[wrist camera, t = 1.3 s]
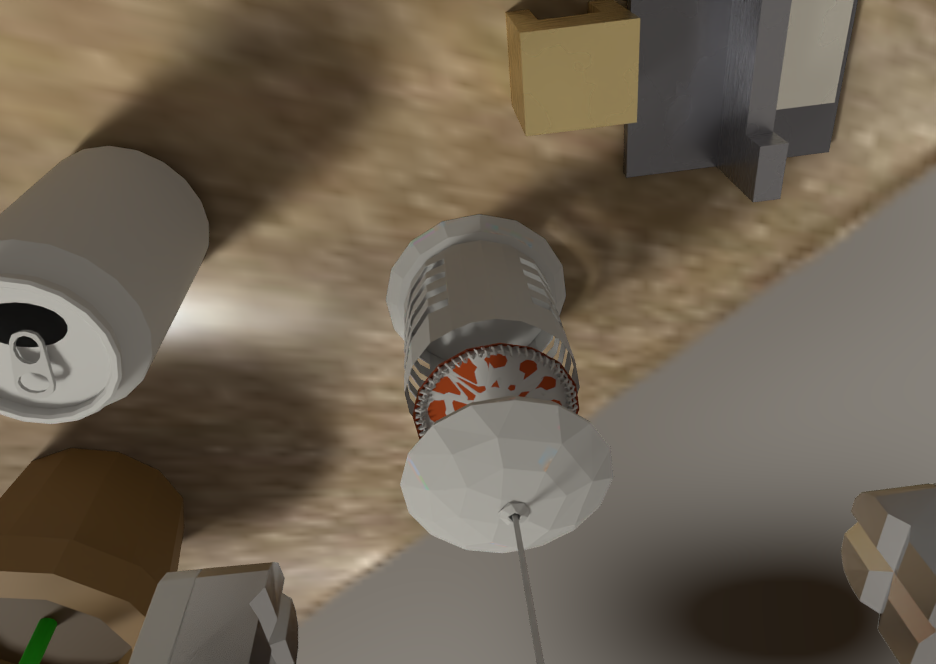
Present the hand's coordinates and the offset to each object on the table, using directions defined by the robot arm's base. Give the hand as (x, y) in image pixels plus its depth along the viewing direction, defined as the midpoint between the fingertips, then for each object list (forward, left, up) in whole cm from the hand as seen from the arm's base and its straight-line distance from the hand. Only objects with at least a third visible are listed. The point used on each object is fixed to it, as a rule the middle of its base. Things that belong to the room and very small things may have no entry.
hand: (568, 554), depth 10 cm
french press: (+12, 0, -27) cm, 29 cm away
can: (+4, -16, -27) cm, 31 cm away
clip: (-1, +5, -26) cm, 27 cm away
